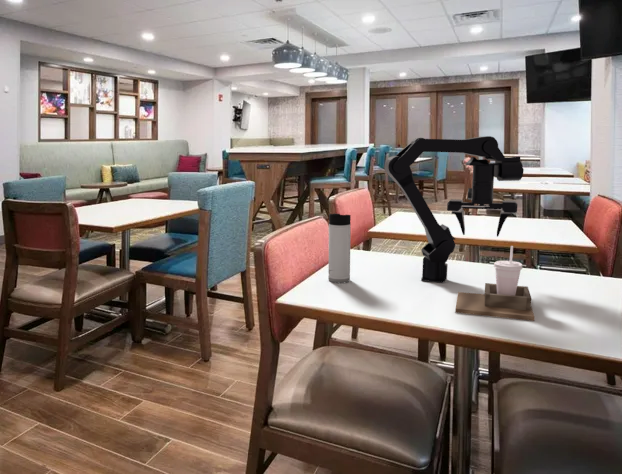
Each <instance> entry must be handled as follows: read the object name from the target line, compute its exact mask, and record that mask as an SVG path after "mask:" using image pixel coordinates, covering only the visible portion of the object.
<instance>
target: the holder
mask: <svg viewBox="0 0 622 474" xmlns="http://www.w3.org/2000/svg"><path fill="white" fill-rule="evenodd" d="M454 313H457V314H464V315H475V316H484V317H492V318H503V319H514V320H523V321H530V322H531V321H532V322H533V321H535V319H536V318H535V314H534V313H535V312H534V311H533V307H532V295H531V293H530V289H529V287H528V286H527V285H526V286H525V285H517V290H516V294H515V296H513V295H502V294H497V285H496V283H491V282H490V283H488V282H487V283H485V285H484V293H473V292H464V291H463V292H462V291H458V292H457V297H456V304H455V310H454Z"/></svg>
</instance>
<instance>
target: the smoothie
mask: <svg viewBox="0 0 622 474" xmlns="http://www.w3.org/2000/svg"><path fill="white" fill-rule="evenodd" d="M509 252H510V253H509V260H496V261H495V262H494V264H493V267H494V268H495V280H496V281H495V282H496V283H495V284H496V285H497V294H502V295H513V296H515V294H516V290H517V286H519V285H518V284H519V279H520V275H521V270H523V263H521V262H520V261H515V260H513V257H514V256H513V253H514V246H513V245H510V251H509Z"/></svg>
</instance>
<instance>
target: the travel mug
mask: <svg viewBox="0 0 622 474" xmlns="http://www.w3.org/2000/svg"><path fill="white" fill-rule="evenodd" d="M351 216H352V214H340V213H335V212H334V213H329V214H328V281H329V282H330V283H334V282H336V283H335V284H345V283H348V282H349V281H350V279H351V225H352V224H351V220H352V219H351ZM344 282H345V283H344Z"/></svg>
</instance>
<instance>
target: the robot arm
mask: <svg viewBox="0 0 622 474" xmlns="http://www.w3.org/2000/svg"><path fill="white" fill-rule="evenodd" d="M423 153H459V154H463V155H468V156H471V157H470V159H469V160H468V161H467V162H465V165H466V166H472V183H471V184H472V185H471V187H469V188H468V190H467V199H468V200H469V201H470V200H471V202H467V201H466V202H465V201H464V200H463V199H456V198H455V199H452V198H451V199H450V200H449V201H447V204H446V211H450V212H451V214H452V215H455V217H456V218H457V222H458V224H459V227H460V229H461V233H462V235H463V236H464V235H466V227H465V214H464V213H465V212H464V211H465V209H470V210H471V209H472V210H500V213H499V214H500V215H499V219H498V224H497V230H496V237H499V235H500V233H501V230H502V228H503V226H504V224H505V222H506V220H507V218H508V217H510V216H512V215H513V214H516V213H518V202H517V200H505V199H504V200H502V202H494V184H495V182H494V180H495V178H496V180H497V181H498V182H510V181H511V182H515V181H517V182H518V181H521V180H522V178H523V177H524V170H525V169H524V167H523V163H522V161H521V156H509V157H507V156H505V155H504V154H503V152H502V151H501V149H500V148H499V142H498V141H497V139H496V138H495V137H494V136H490V135H489V136H488V135H487V136H485V135H484V136H476V137H470V138H464V139H451V138H450V139H448V138H445V139H444V138H442V139H441V138H424V137H417V138H413V139H412V140H411V142H410V143H408V144H407V145H406V146H405V147H404V148H402V149H401V150H400V151H399V152H398V153H396V155H392V156H389V157H388V158H387V159H386V161H385V162H384V166H383V168H384V170H385V172H386V174H387V175H388V176H389V177H390V178H391V180H392V181H393V182H395V183H396V185H397V186H398V187H399V188H400V189H401V191H402V192H403V194H404V195H405V198H406V199H407V201H408V203H409V204H410V206H411V208H412V209H413V211H414V213H415V215H416V216H417V218H418V220H419V221H420V223H421V225H422V226H423V228H424V232H425V236H426V239H427V243H426V244H425V245H424V246H423V247H422V248H421V249H420V250H421V254H422V256H423V258H422V271H421V272H422V273H421V278H420V281H423V282H431V283H432V282H434V283H445V281H446V280H447V279H448V268H449V267H448V263H447V262H448V259H449V257H450V255H452V253H453V252H454V251H455V248H456V243H455V240H456V237H454V236H453V234H452V232H451V230H450V227H449V226H447V225H445V224H443V223H441V224H440V223H438V221H437V219H436V217H435V215H434V214H433V212H432V210H431V209H430V207H429V206H428V204H427V202H426V200H425V198H424V196H423V195H422V194H421V191H420V190H419V187H418V186H417V184H416V182H415V179H414V175H413V171H412V169H411V166H412V165H413V164H414V163H415V162H416V161H417V159H418V158H419V157H420V156H421V155H422V154H423ZM476 157H478V158H479V159H477V158H476ZM480 158H481V159H480ZM482 158H483V159H482ZM489 161H494V162H489Z"/></svg>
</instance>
